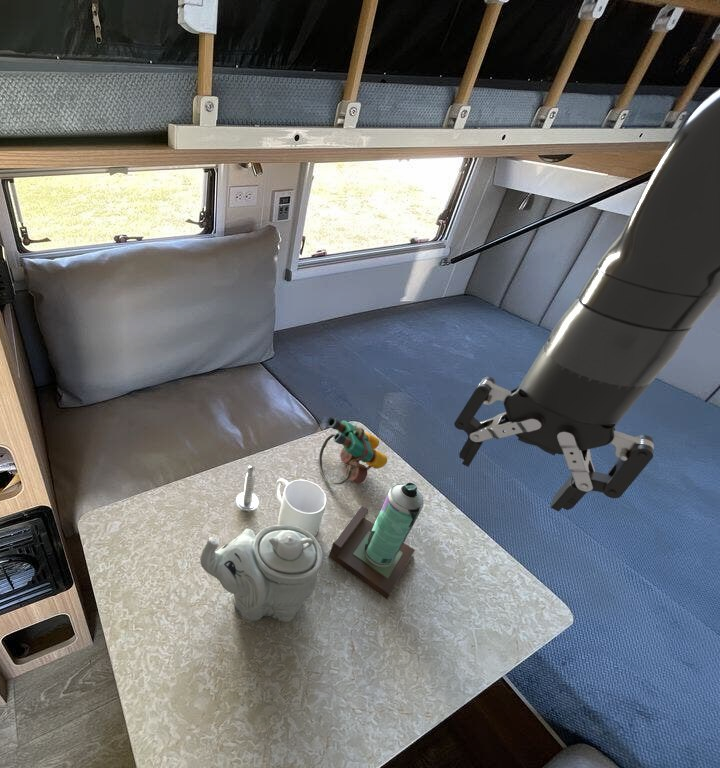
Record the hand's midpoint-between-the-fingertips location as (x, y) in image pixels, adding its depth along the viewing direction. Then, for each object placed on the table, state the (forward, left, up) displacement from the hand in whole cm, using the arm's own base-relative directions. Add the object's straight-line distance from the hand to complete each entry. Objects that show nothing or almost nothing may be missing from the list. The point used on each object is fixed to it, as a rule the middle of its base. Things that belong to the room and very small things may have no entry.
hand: (509, 482), depth 44 cm
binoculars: (+24, -28, -40) cm, 55 cm away
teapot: (+22, +11, -40) cm, 47 cm away
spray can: (+9, -11, -38) cm, 41 cm away
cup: (+26, -7, -40) cm, 48 cm away
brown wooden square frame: (+10, -11, -40) cm, 43 cm away
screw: (+35, -3, -40) cm, 53 cm away
